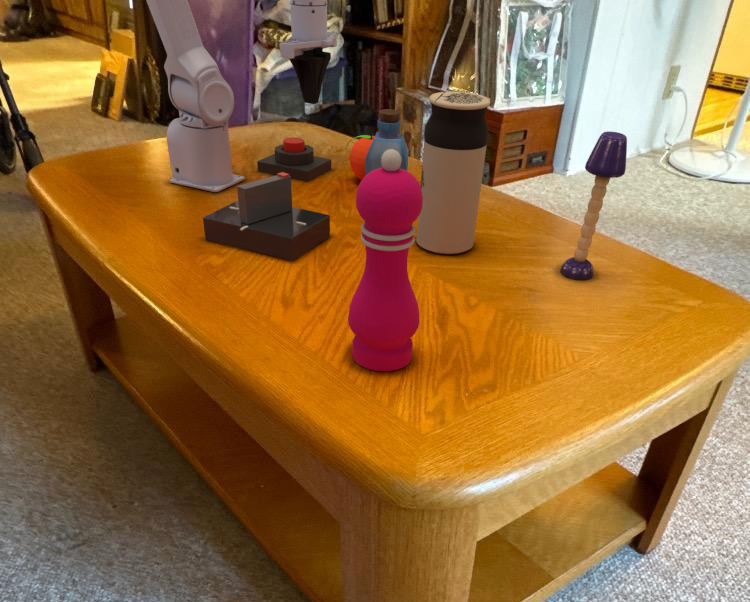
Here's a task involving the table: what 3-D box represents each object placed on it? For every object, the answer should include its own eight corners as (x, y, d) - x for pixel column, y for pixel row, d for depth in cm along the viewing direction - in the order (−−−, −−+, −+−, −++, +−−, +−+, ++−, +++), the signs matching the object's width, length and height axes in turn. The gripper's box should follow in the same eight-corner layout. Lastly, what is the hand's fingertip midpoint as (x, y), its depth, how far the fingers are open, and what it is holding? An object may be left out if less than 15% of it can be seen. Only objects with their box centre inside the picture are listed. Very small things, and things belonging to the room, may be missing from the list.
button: (279, 152, 114) (278, 140, 113) (290, 147, 117) (290, 136, 116) (297, 155, 113) (297, 144, 112) (308, 150, 116) (308, 139, 115)
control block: (257, 171, 116) (256, 149, 114) (283, 160, 121) (281, 138, 119) (307, 182, 113) (307, 159, 111) (331, 169, 118) (331, 148, 116)
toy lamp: (598, 270, 90) (635, 131, 79) (595, 284, 87) (633, 141, 75) (562, 264, 91) (593, 126, 80) (557, 277, 88) (589, 136, 76)
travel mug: (480, 240, 96) (500, 96, 84) (461, 260, 91) (480, 108, 79) (428, 229, 99) (441, 88, 87) (407, 248, 93) (417, 99, 81)
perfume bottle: (406, 190, 111) (411, 108, 103) (403, 203, 107) (408, 118, 99) (368, 188, 112) (371, 105, 104) (364, 200, 107) (366, 115, 99)
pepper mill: (345, 339, 74) (347, 137, 60) (411, 339, 74) (427, 138, 61) (349, 375, 68) (352, 161, 55) (420, 374, 69) (440, 162, 55)
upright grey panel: (247, 224, 89) (244, 187, 86) (240, 221, 90) (236, 184, 87) (292, 210, 94) (291, 174, 91) (285, 207, 95) (283, 171, 92)
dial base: (200, 242, 92) (197, 218, 90) (251, 215, 100) (249, 193, 98) (287, 264, 88) (286, 240, 86) (333, 234, 96) (333, 211, 94)
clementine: (336, 182, 113) (336, 136, 108) (353, 171, 118) (354, 126, 113) (381, 190, 111) (382, 143, 106) (396, 178, 116) (398, 132, 111)
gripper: (306, 11, 100) (309, 114, 109) (353, 2, 109) (352, 97, 119) (266, 6, 102) (272, 108, 111) (315, -2, 112) (317, 92, 121)
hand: (311, 102), depth 115 cm, fingers closed
